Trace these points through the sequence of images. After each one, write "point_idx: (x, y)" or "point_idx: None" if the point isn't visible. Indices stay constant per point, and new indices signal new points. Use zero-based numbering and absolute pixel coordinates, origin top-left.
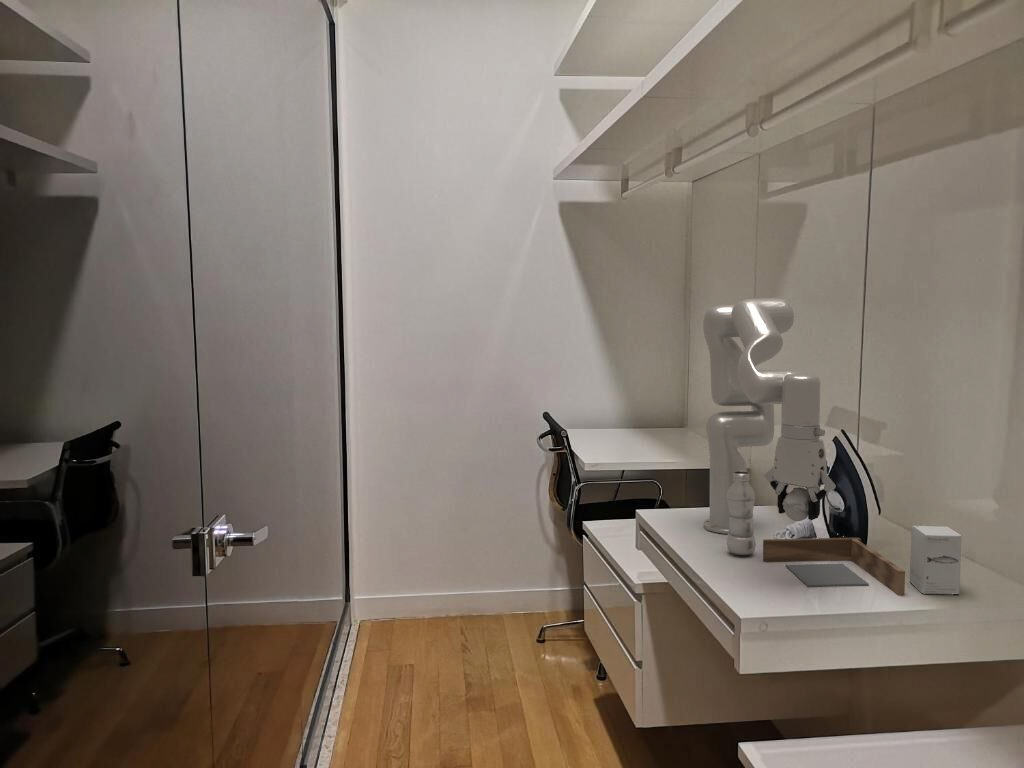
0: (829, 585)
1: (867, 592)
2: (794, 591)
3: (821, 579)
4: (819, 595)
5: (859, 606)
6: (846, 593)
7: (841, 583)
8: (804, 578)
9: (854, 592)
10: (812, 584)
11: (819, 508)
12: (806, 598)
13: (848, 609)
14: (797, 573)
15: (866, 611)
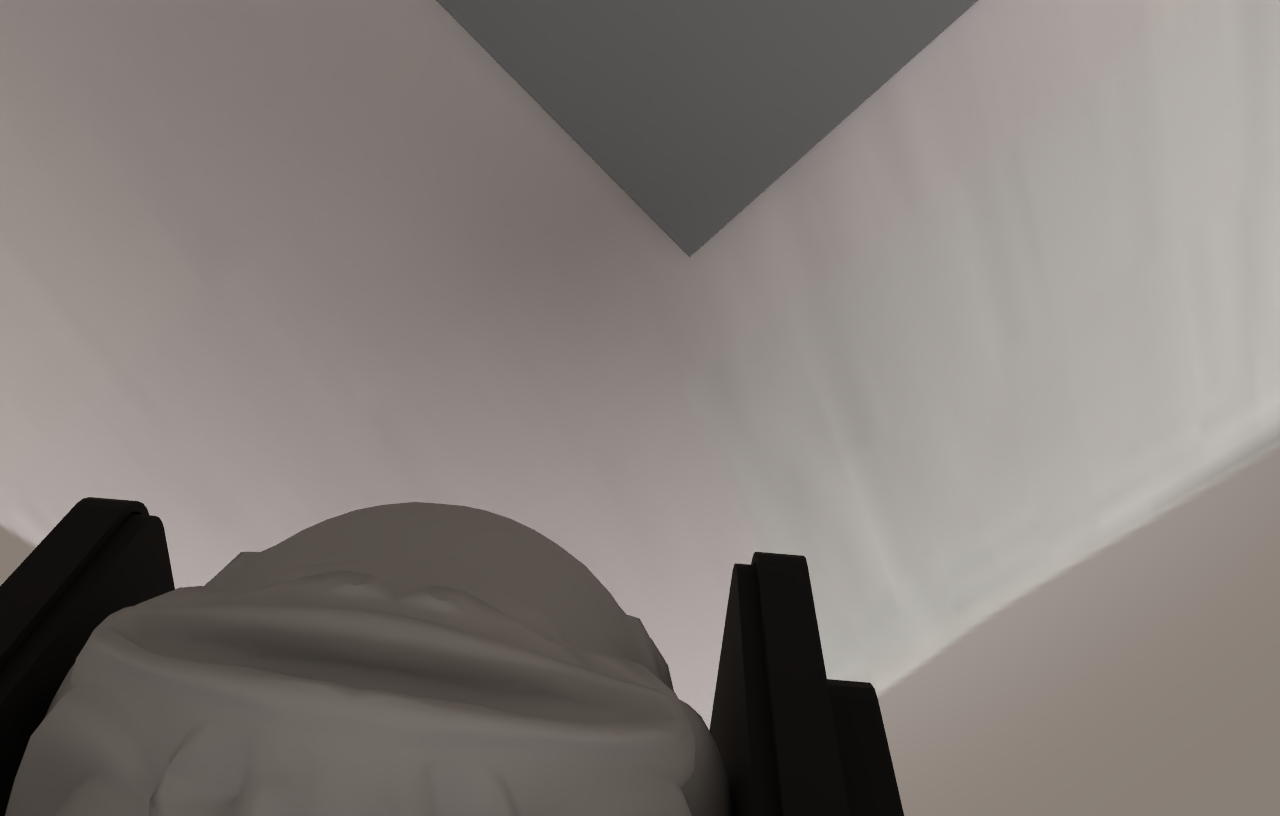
0: (843, 119)
1: (1185, 35)
2: (649, 404)
3: (734, 28)
4: (838, 368)
5: (1163, 397)
6: (1017, 188)
7: (932, 11)
8: (595, 107)
9: (1075, 116)
10: (717, 216)
11: (889, 792)
12: (778, 478)
13: (1098, 494)
14: (478, 7)
15: (1224, 456)
